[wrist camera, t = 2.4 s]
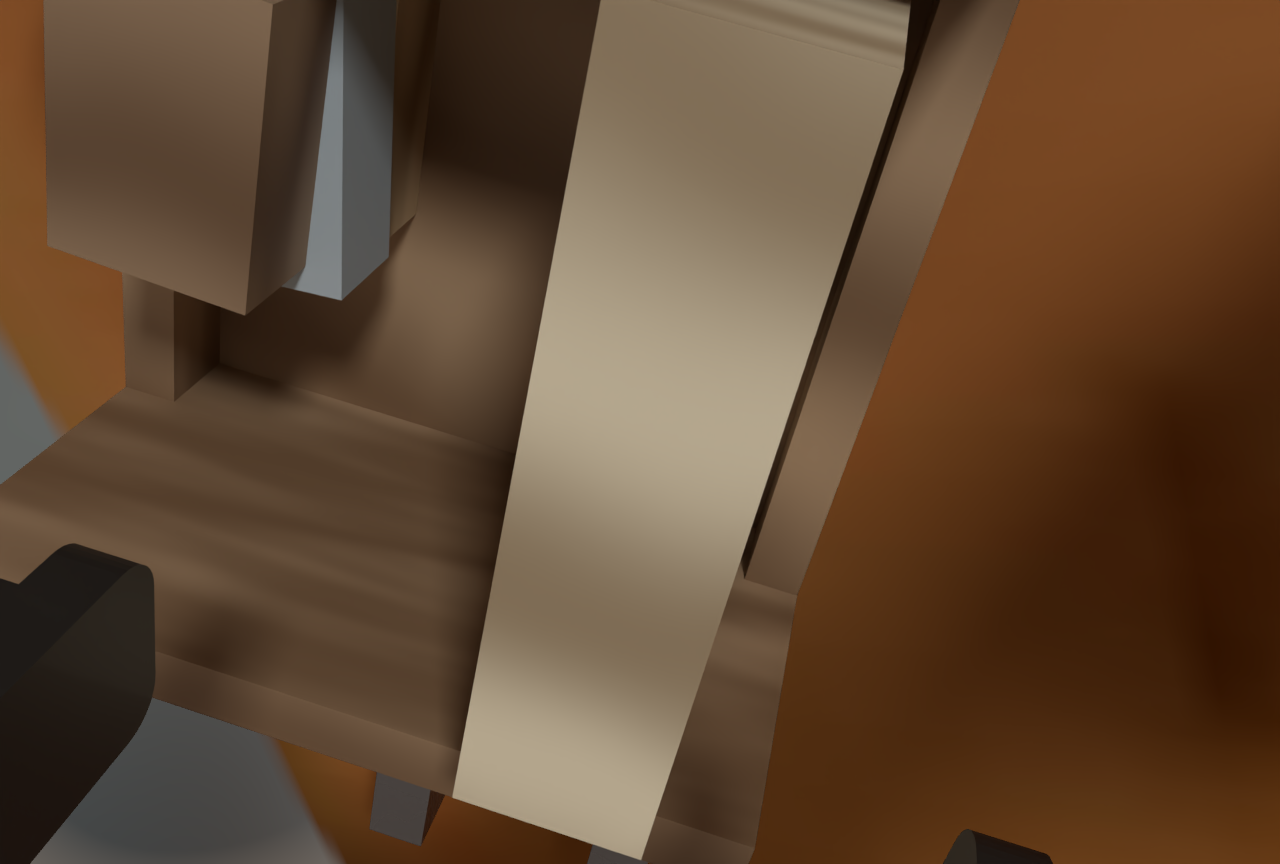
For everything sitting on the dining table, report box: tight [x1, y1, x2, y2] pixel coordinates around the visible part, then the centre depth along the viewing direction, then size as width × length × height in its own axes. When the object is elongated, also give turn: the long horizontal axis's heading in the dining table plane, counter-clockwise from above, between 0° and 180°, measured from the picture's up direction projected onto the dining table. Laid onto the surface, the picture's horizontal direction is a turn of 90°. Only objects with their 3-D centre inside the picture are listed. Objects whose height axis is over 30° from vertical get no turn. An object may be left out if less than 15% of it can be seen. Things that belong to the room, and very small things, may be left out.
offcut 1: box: [44, 0, 337, 315], centre depth 19 cm, size 5×4×2 cm
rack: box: [0, 0, 1020, 864], centre depth 21 cm, size 17×16×10 cm
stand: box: [370, 772, 648, 864], centre depth 31 cm, size 9×8×4 cm
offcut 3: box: [389, 0, 441, 237], centre depth 23 cm, size 6×4×2 cm, turn 168°
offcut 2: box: [282, 0, 396, 300], centre depth 21 cm, size 6×4×2 cm, turn 172°
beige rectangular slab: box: [452, 0, 911, 860], centre depth 19 cm, size 12×3×11 cm, turn 168°
